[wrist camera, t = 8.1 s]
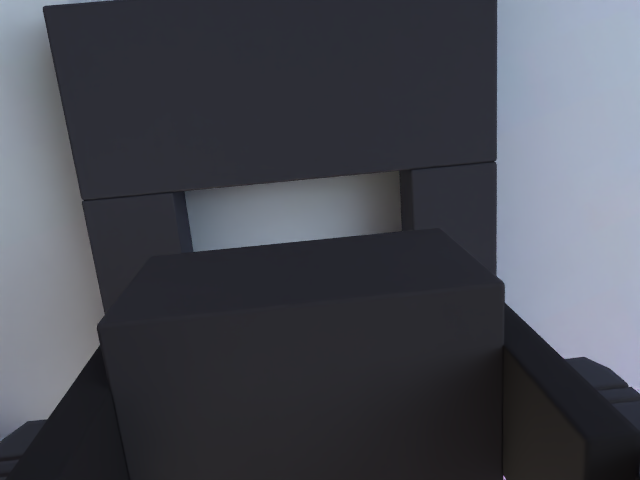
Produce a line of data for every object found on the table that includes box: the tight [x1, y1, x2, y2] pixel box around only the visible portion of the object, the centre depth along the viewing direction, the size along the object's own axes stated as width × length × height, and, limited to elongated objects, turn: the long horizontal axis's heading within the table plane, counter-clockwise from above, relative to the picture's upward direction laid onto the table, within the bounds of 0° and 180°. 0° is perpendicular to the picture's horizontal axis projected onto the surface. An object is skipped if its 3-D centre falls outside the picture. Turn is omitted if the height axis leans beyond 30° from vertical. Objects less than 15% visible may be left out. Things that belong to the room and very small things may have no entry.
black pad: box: [97, 228, 505, 480], centre depth 12 cm, size 5×7×4 cm
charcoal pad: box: [43, 0, 497, 314], centre depth 20 cm, size 18×14×2 cm
